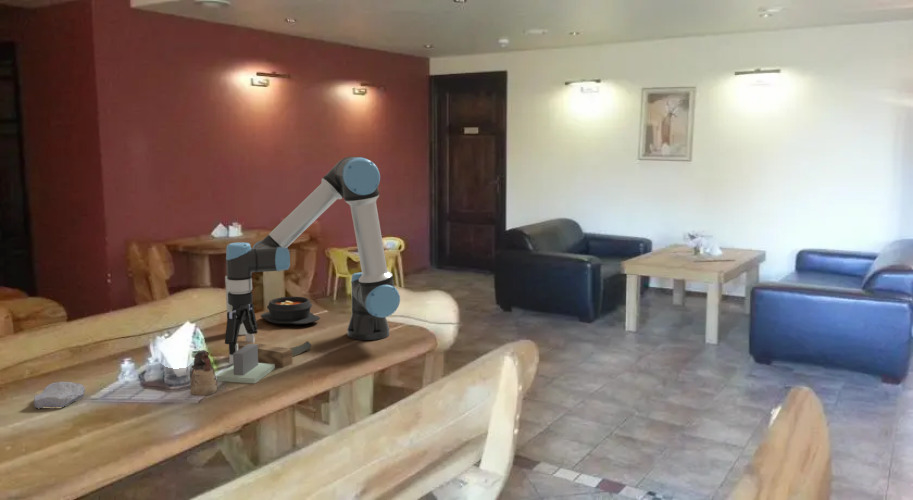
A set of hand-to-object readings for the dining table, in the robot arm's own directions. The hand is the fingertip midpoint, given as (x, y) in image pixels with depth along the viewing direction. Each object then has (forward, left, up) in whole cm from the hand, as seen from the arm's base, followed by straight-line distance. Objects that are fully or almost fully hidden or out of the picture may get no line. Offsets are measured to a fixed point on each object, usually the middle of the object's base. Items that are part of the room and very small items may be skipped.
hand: (242, 358), depth 238 cm
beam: (-6, 0, -1) cm, 6 cm away
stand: (-8, +14, 0) cm, 16 cm away
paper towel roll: (+15, -29, 0) cm, 33 cm away
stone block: (+31, +44, -1) cm, 54 cm away
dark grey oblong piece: (-14, -10, -1) cm, 17 cm away
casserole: (+4, -48, -1) cm, 48 cm away
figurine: (-3, +30, 0) cm, 30 cm away
